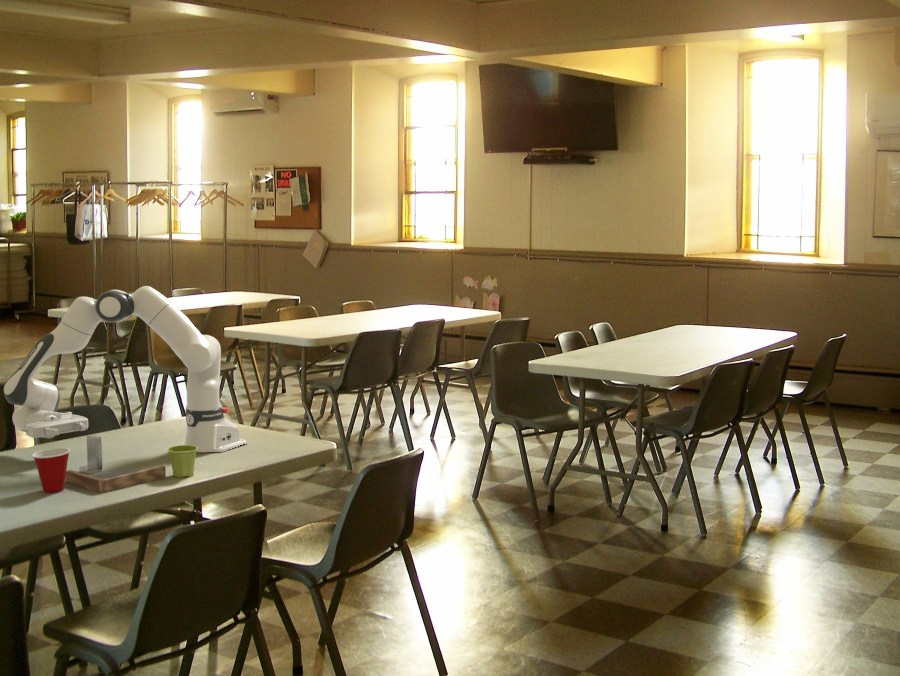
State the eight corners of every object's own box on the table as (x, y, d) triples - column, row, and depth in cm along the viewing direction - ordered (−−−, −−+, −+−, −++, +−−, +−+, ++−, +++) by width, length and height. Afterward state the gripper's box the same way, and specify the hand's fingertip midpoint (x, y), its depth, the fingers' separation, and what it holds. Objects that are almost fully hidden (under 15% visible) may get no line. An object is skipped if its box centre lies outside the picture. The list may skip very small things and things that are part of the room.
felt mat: (128, 468, 347) (128, 467, 346) (159, 476, 337) (159, 475, 337) (73, 481, 331) (73, 479, 331) (104, 489, 321) (104, 488, 321)
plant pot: (190, 480, 333) (190, 452, 332) (162, 478, 335) (161, 451, 334) (203, 472, 342) (202, 445, 341) (176, 471, 344) (175, 444, 343)
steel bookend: (93, 468, 347) (92, 434, 345) (102, 470, 344) (101, 437, 342) (79, 471, 343) (78, 437, 341) (88, 474, 340) (87, 439, 338)
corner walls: (129, 467, 347) (128, 457, 347) (165, 477, 336) (165, 466, 335) (65, 482, 329) (65, 471, 329) (102, 492, 318) (101, 481, 317)
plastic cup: (39, 485, 325) (37, 447, 324) (76, 485, 326) (74, 446, 325) (28, 495, 314) (26, 455, 313) (66, 495, 315) (64, 455, 314)
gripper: (17, 419, 350) (41, 425, 342) (73, 410, 366) (97, 416, 358) (18, 438, 351) (41, 445, 342) (74, 429, 367) (97, 435, 358)
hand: (70, 430), depth 350 cm, fingers open, 8 cm apart
